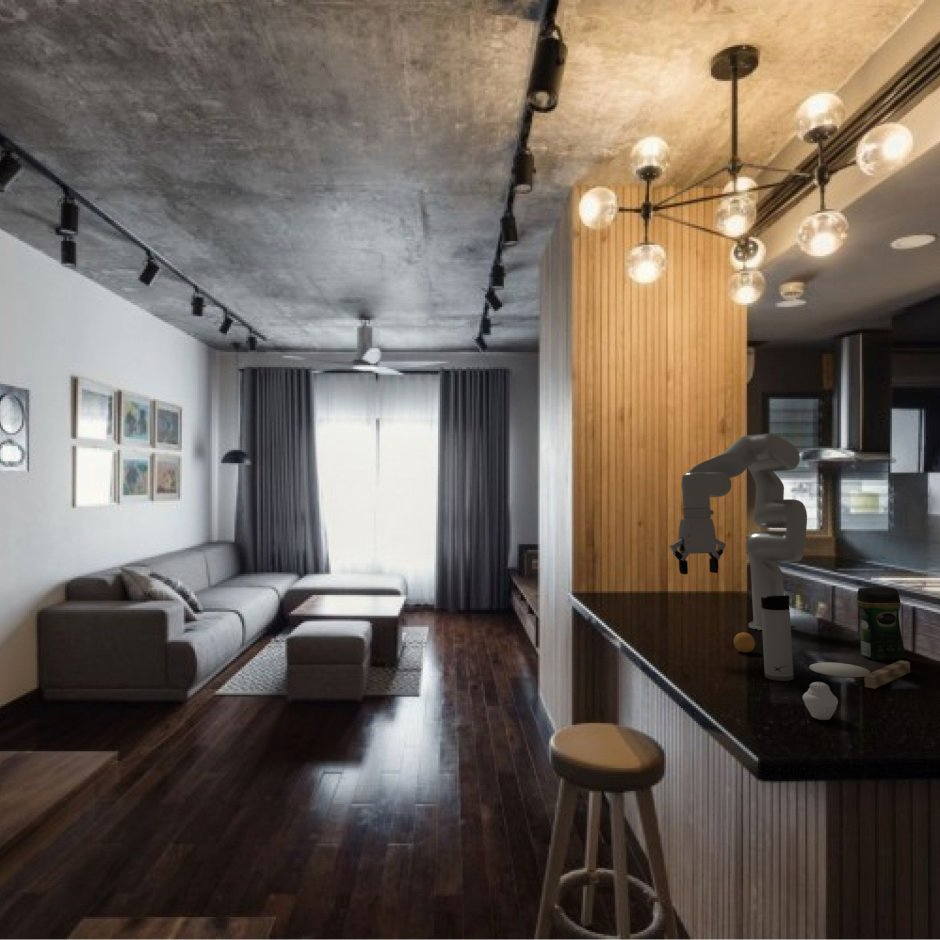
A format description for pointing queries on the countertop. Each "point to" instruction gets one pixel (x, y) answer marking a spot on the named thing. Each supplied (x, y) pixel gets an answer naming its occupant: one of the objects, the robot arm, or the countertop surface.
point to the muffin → (820, 701)
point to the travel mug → (777, 638)
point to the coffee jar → (880, 623)
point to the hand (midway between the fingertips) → (699, 573)
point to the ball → (744, 642)
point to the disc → (839, 669)
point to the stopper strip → (887, 674)
